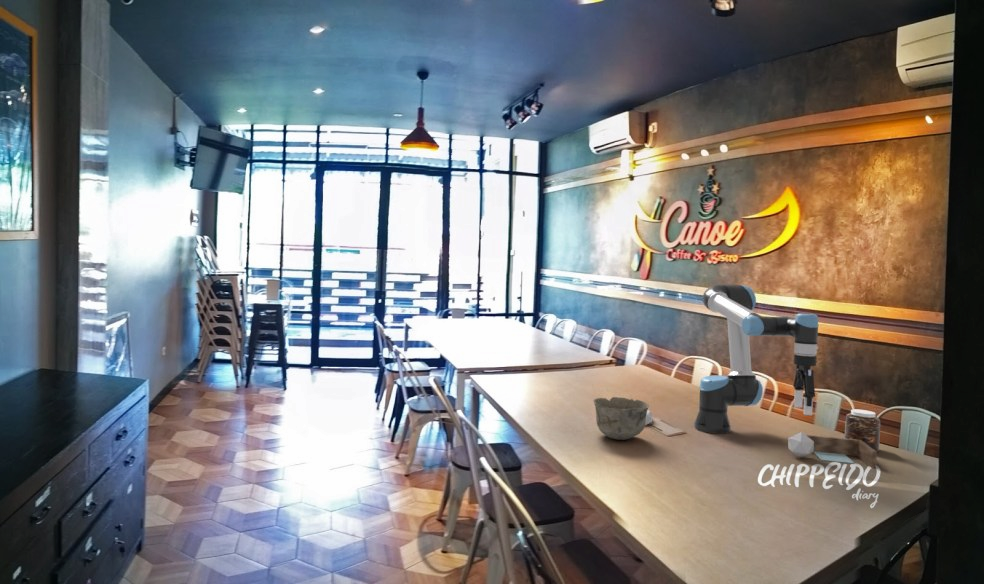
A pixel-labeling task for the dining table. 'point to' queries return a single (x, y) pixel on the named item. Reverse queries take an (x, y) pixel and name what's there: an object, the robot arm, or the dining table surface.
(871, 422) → the jar
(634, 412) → the bowl
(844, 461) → the mat
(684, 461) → the dining table surface
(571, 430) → the dining table surface
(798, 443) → the die
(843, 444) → the arena
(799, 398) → the robot arm
